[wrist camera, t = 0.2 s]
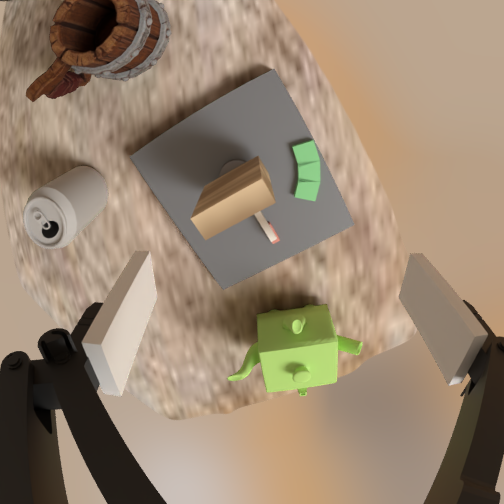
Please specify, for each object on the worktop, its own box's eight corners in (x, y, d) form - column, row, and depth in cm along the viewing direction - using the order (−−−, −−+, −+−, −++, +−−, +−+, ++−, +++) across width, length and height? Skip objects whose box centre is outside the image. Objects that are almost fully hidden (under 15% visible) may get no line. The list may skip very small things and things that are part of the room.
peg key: (203, 175, 38) (185, 211, 27) (254, 146, 36) (257, 170, 26) (249, 247, 42) (249, 302, 32) (297, 222, 41) (314, 272, 30)
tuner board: (134, 153, 38) (127, 158, 36) (272, 69, 34) (274, 68, 31) (224, 282, 47) (222, 293, 45) (350, 219, 43) (356, 227, 40)
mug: (200, 24, 31) (149, 12, 19) (128, 107, 37) (60, 140, 25) (136, -24, 27) (66, -44, 15) (74, 59, 33) (-4, 76, 21)
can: (83, 223, 43) (42, 265, 32) (56, 182, 40) (8, 213, 29) (120, 199, 41) (82, 237, 31) (92, 153, 38) (44, 178, 27)
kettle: (229, 333, 52) (226, 386, 42) (282, 272, 47) (290, 322, 37) (299, 366, 56) (307, 416, 46) (354, 315, 51) (373, 364, 41)
